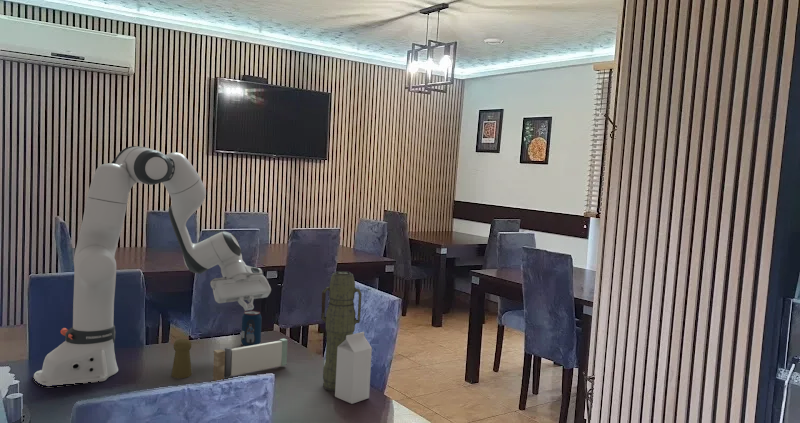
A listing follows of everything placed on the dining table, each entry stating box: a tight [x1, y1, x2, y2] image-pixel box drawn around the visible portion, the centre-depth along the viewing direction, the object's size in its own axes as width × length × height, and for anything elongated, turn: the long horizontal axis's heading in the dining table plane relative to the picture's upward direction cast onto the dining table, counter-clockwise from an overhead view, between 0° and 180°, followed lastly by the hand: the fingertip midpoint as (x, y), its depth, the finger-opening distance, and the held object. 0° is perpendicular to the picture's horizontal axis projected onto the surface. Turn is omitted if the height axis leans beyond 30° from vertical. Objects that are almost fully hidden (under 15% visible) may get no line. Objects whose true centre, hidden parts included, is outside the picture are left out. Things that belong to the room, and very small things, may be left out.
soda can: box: [240, 309, 263, 347], centre depth 226 cm, size 7×7×12 cm
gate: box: [224, 338, 288, 378], centre depth 198 cm, size 22×2×9 cm, turn 132°
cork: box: [170, 338, 193, 379], centre depth 192 cm, size 6×6×11 cm
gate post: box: [212, 349, 225, 382], centre depth 189 cm, size 2×2×9 cm
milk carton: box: [334, 331, 373, 405], centre depth 180 cm, size 7×7×19 cm
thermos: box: [321, 270, 362, 392], centre depth 189 cm, size 9×12×35 cm
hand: (249, 309), depth 213 cm, fingers closed
